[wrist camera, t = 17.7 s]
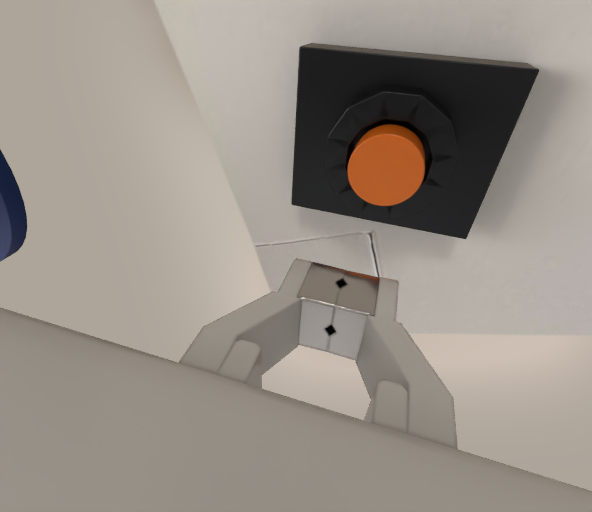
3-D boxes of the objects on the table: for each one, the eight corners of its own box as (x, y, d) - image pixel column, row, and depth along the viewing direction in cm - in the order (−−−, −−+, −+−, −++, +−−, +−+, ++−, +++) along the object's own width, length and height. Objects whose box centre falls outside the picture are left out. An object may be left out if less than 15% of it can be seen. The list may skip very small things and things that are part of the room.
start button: (348, 185, 19) (342, 199, 18) (359, 119, 17) (353, 128, 15) (414, 197, 18) (413, 212, 17) (434, 129, 16) (435, 140, 15)
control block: (300, 191, 24) (282, 217, 21) (310, 43, 19) (287, 49, 15) (463, 221, 22) (469, 256, 19) (528, 63, 16) (552, 75, 13)
